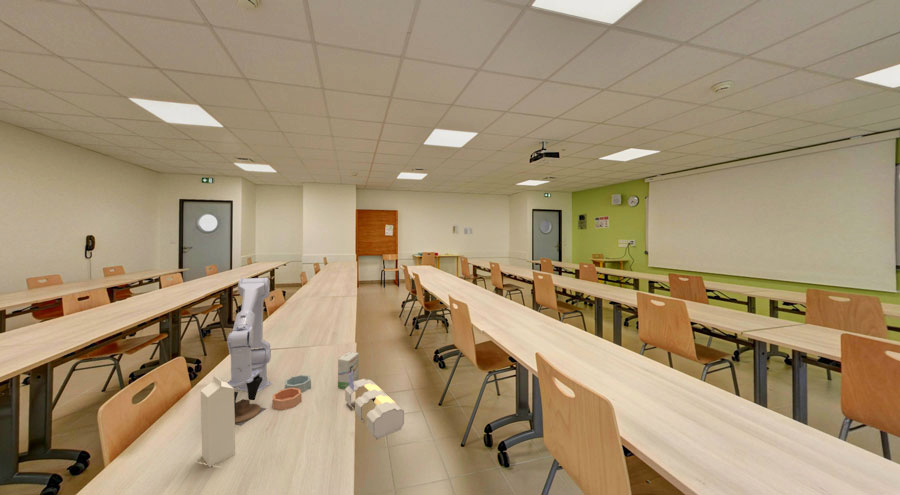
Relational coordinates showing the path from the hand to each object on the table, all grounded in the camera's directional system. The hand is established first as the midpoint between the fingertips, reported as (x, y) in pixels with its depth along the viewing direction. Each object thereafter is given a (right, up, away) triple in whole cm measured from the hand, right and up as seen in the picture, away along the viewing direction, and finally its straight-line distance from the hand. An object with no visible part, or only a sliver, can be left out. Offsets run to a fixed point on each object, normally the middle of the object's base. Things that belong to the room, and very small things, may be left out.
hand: (242, 405), depth 103 cm
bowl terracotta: (+11, -3, +8) cm, 14 cm away
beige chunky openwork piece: (+44, -4, +1) cm, 44 cm away
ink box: (+28, -3, +23) cm, 37 cm away
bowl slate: (+10, -3, +18) cm, 21 cm away
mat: (0, -4, 0) cm, 4 cm away
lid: (0, -3, 0) cm, 3 cm away
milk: (+7, -5, -19) cm, 20 cm away
